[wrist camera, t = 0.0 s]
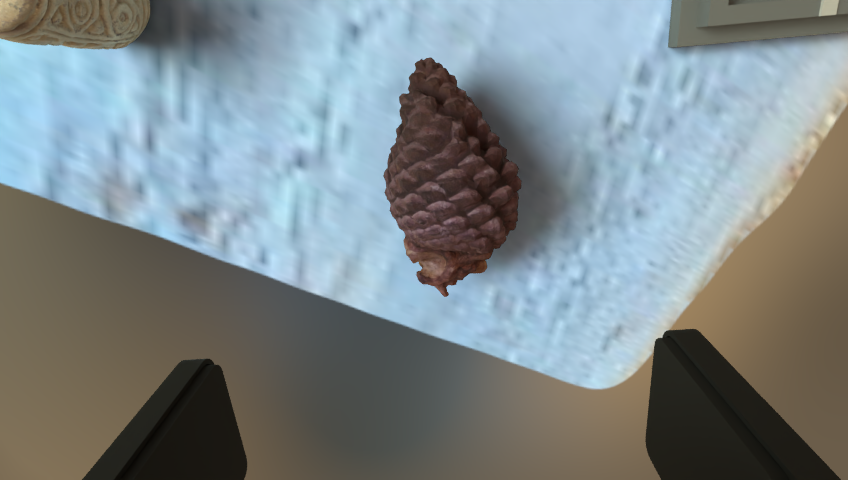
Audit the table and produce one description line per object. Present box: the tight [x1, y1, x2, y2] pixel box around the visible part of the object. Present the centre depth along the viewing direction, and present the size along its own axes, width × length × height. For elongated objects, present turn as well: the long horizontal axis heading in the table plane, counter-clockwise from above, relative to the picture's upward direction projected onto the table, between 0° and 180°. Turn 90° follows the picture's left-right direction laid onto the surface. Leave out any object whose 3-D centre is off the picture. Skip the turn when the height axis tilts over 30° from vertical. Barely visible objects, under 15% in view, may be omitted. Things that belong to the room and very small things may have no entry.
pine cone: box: [384, 58, 522, 297], centre depth 36 cm, size 18×10×10 cm, turn 9°
